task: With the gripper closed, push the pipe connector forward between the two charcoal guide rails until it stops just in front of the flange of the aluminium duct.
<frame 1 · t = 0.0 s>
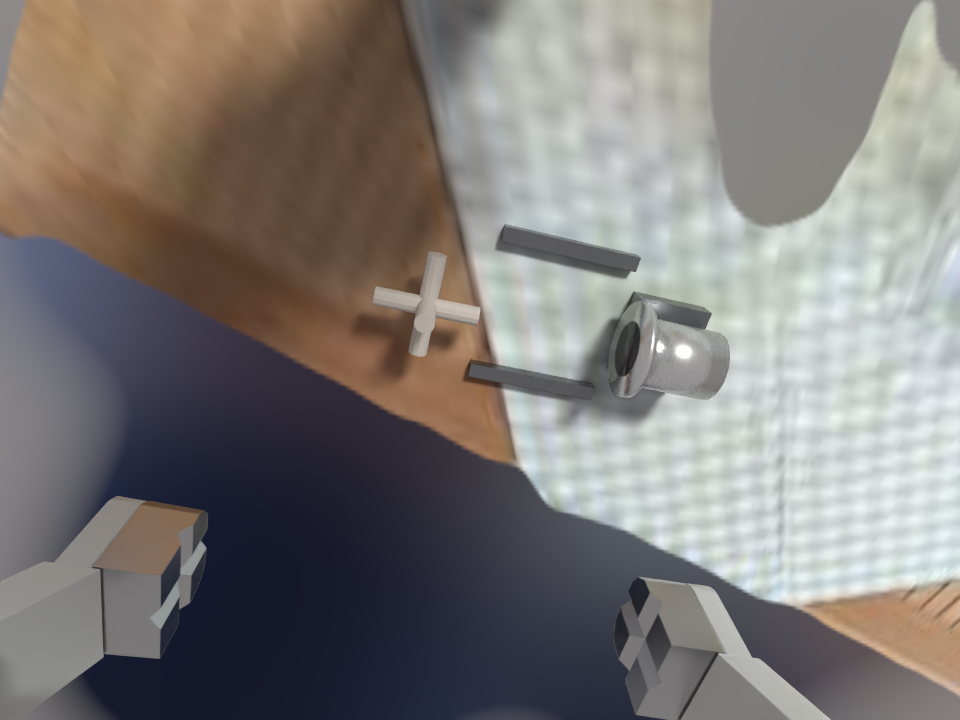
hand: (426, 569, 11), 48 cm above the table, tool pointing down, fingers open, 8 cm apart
pipe connector: (429, 289, 58), on the table
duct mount: (549, 315, 60), on the table
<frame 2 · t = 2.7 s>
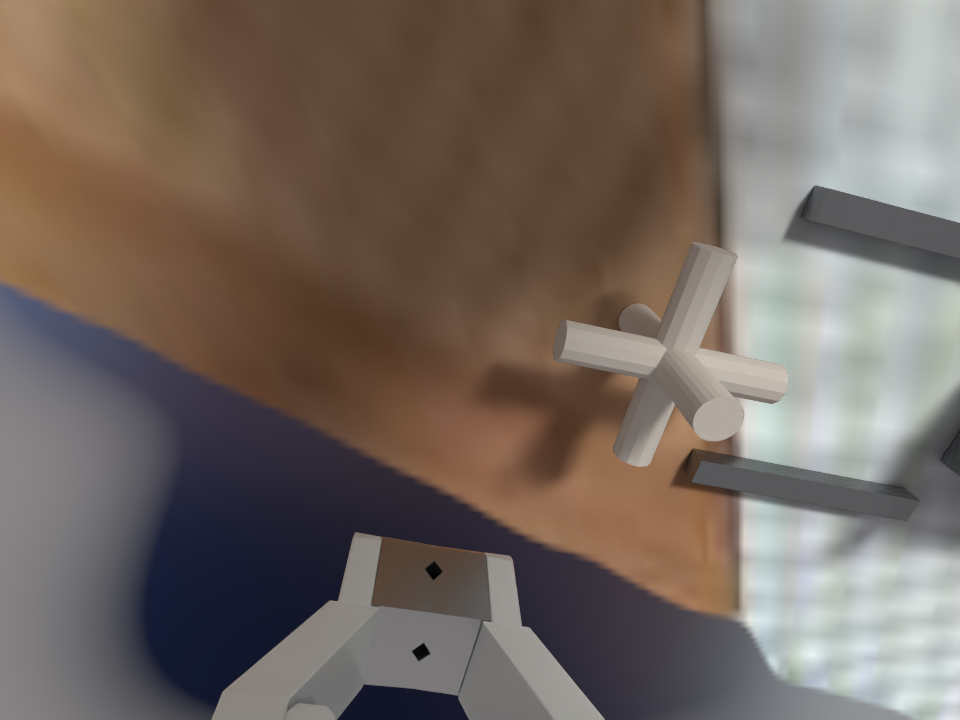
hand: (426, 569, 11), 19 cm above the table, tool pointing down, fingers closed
pipe connector: (634, 318, 29), on the table
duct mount: (859, 368, 31), on the table
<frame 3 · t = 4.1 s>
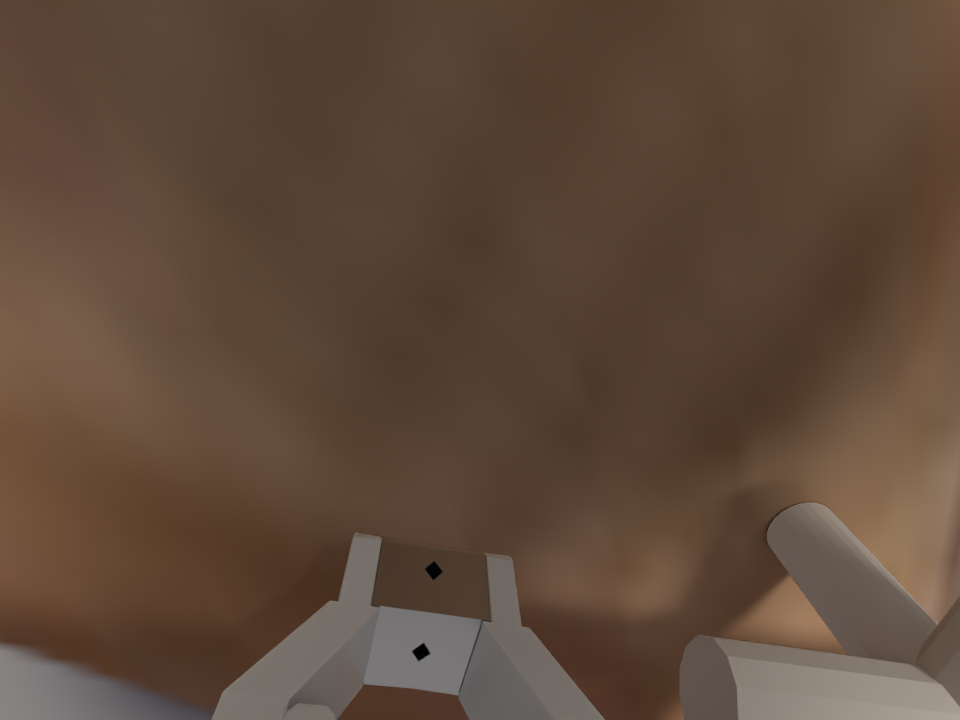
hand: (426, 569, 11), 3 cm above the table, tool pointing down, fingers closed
pipe connector: (796, 524, 15), on the table
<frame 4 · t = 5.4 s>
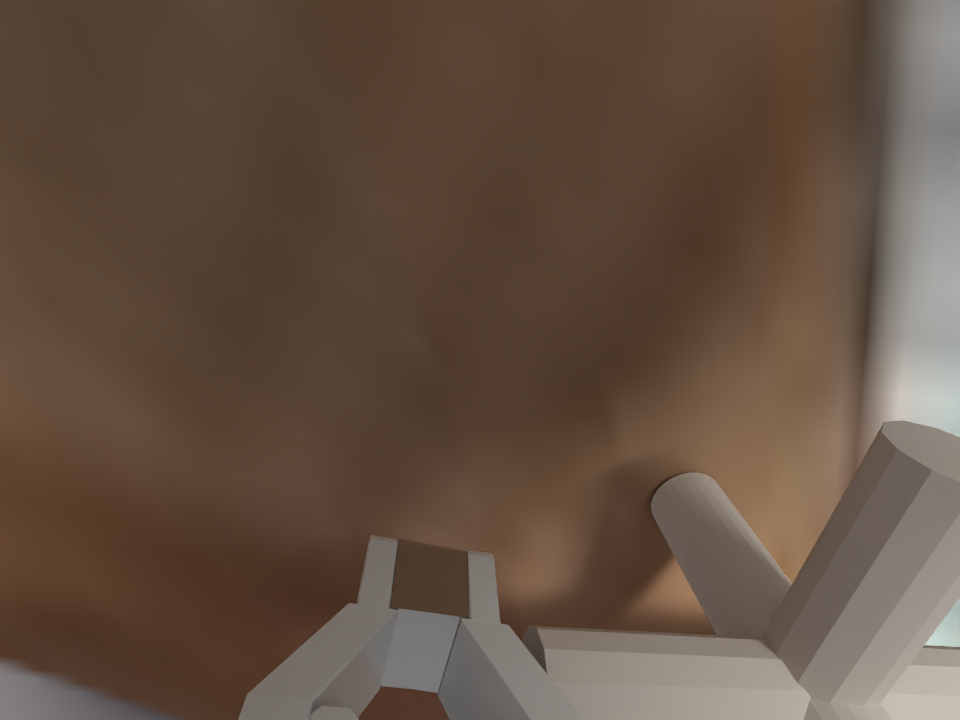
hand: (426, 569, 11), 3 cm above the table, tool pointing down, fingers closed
pipe connector: (682, 496, 15), on the table, touching gripper
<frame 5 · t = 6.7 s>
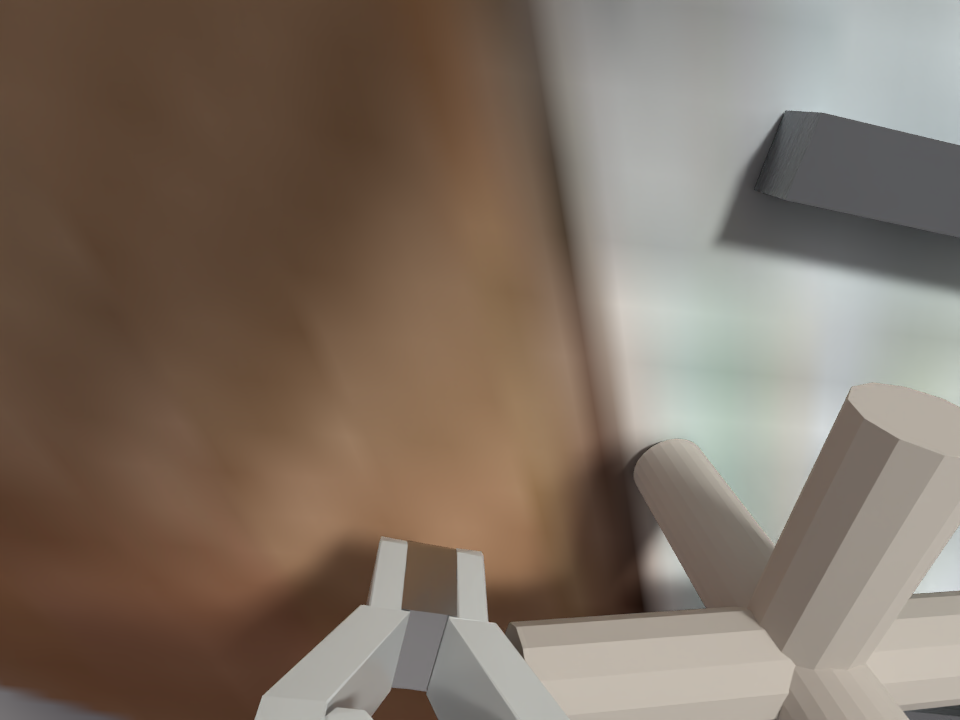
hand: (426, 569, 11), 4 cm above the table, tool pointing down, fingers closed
pipe connector: (664, 462, 14), on the table, touching gripper
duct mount: (893, 497, 15), on the table
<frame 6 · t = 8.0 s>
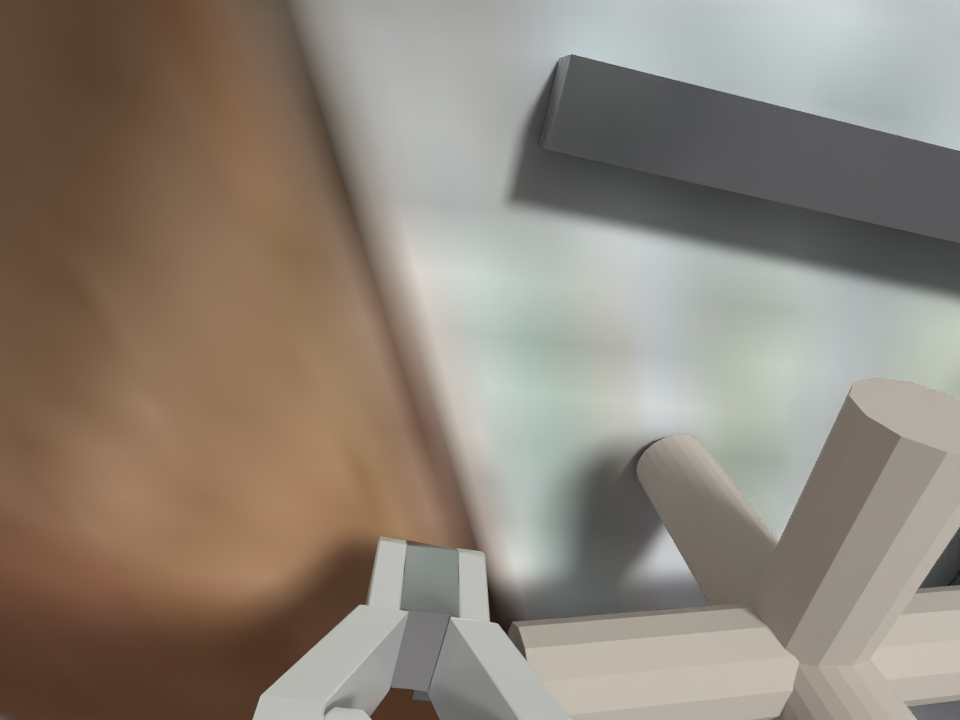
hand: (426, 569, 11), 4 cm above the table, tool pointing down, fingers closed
pipe connector: (667, 458, 14), on the table, touching gripper
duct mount: (734, 476, 15), on the table
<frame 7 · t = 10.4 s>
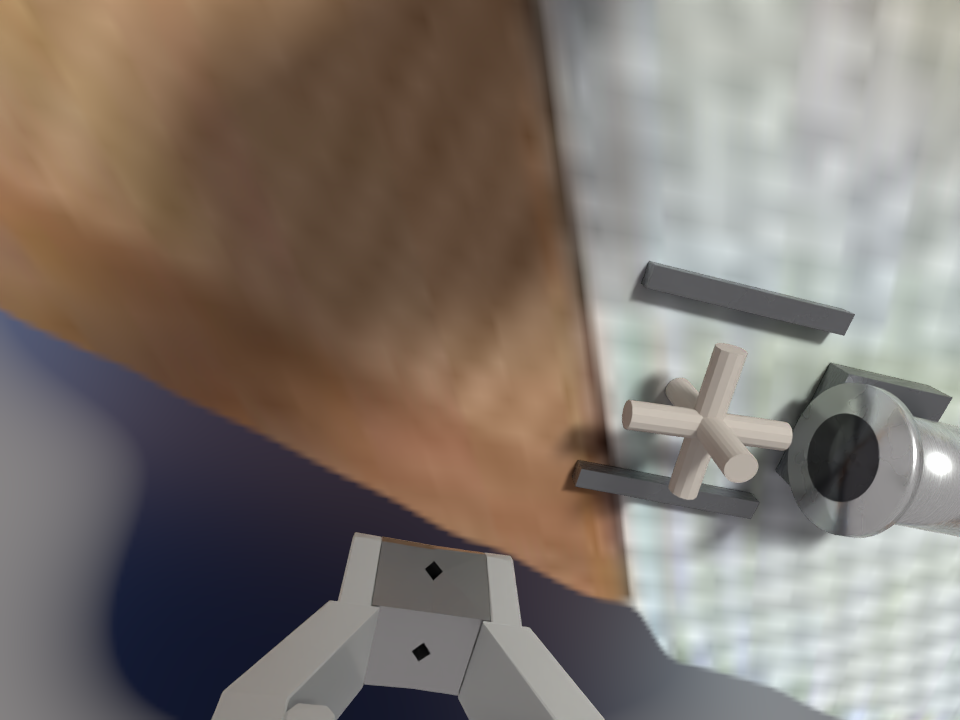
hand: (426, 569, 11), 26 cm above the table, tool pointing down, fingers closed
pipe connector: (677, 388, 39), on the table
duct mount: (700, 397, 40), on the table
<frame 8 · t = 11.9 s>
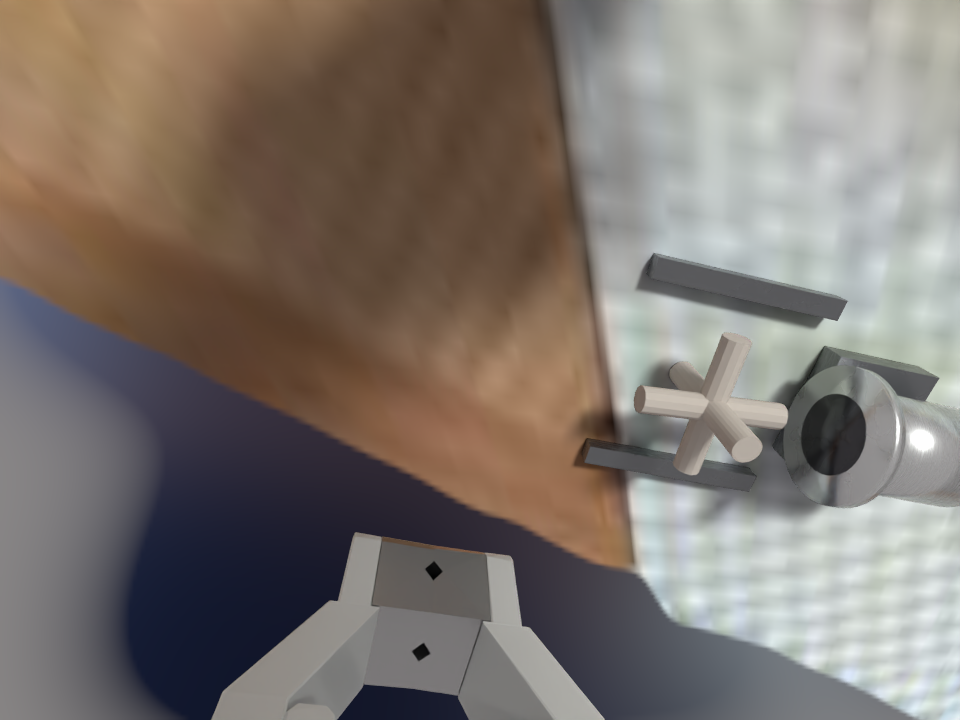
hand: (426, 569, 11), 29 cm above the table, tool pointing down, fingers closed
pipe connector: (680, 371, 42), on the table
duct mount: (702, 379, 42), on the table
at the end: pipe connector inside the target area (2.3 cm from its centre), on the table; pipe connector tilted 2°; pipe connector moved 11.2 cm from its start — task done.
